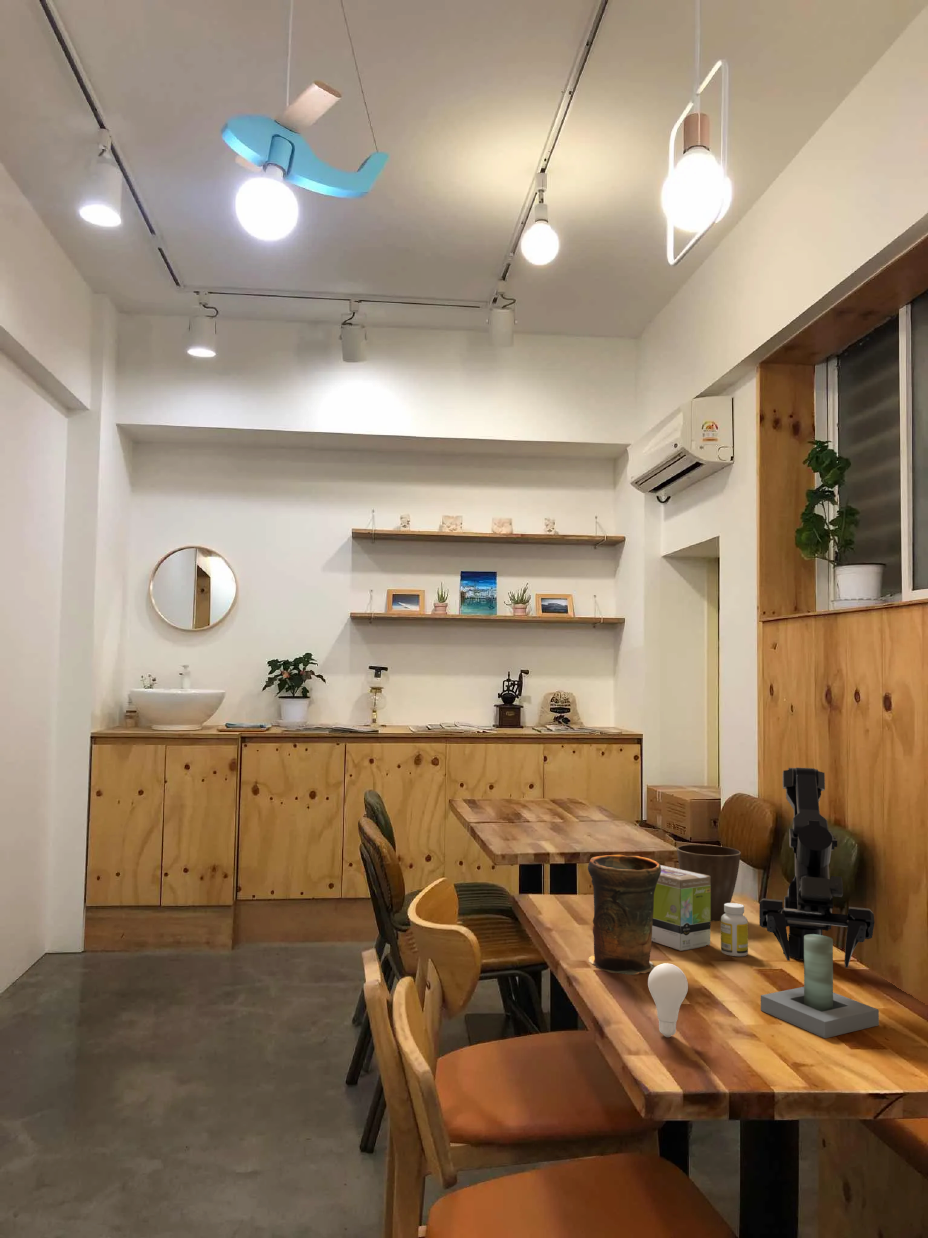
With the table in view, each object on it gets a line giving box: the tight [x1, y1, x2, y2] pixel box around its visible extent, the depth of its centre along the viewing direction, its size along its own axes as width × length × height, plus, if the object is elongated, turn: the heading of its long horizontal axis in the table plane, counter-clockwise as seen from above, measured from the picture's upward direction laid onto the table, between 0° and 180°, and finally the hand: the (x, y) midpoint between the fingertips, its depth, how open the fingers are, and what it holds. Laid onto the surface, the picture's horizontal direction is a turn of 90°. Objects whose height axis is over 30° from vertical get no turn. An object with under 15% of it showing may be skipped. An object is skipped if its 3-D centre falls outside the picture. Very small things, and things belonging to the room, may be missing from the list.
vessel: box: [587, 854, 661, 976], centre depth 173 cm, size 14×14×20 cm
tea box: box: [651, 864, 712, 952], centre depth 190 cm, size 15×10×15 cm, turn 34°
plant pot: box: [676, 844, 742, 922], centre depth 210 cm, size 15×15×16 cm
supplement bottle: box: [720, 902, 749, 957], centre depth 181 cm, size 5×5×10 cm
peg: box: [803, 934, 834, 1012], centre depth 146 cm, size 4×4×13 cm
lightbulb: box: [647, 962, 689, 1038], centre depth 136 cm, size 6×6×11 cm
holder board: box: [760, 986, 880, 1039], centre depth 145 cm, size 13×13×2 cm
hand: (817, 963), depth 148 cm, fingers open, 9 cm apart
